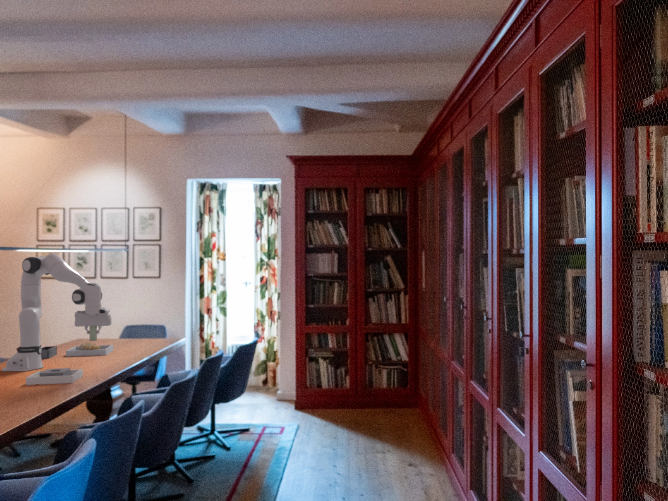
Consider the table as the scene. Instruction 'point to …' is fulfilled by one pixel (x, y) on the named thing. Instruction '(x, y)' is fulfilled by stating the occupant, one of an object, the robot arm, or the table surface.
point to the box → (54, 376)
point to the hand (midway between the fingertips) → (93, 333)
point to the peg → (93, 333)
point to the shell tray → (89, 351)
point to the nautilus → (89, 346)
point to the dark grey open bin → (48, 352)
